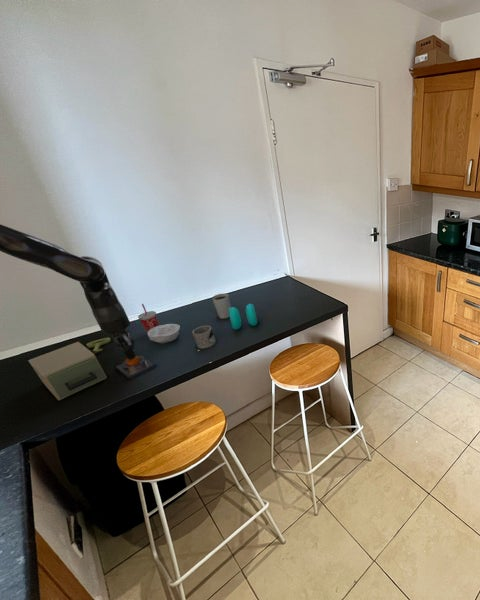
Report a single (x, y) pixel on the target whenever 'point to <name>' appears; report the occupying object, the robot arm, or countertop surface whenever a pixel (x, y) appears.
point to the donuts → (237, 320)
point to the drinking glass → (222, 305)
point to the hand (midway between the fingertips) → (131, 357)
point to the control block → (135, 367)
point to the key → (98, 344)
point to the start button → (132, 361)
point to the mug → (204, 336)
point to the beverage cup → (148, 319)
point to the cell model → (164, 333)
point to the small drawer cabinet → (61, 362)
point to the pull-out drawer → (76, 377)
